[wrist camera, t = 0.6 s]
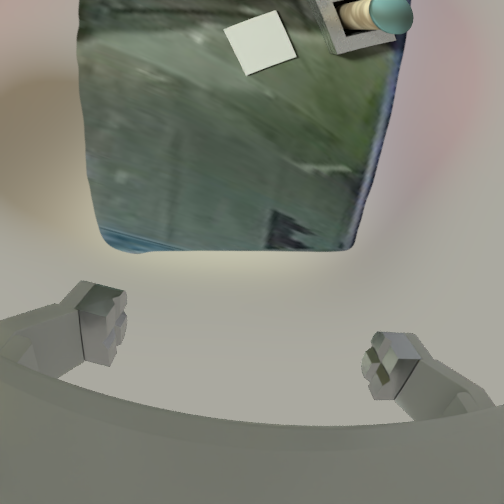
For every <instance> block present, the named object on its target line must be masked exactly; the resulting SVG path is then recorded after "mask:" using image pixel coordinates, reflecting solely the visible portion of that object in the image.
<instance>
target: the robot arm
mask: <svg viewBox="0 0 504 504" xmlns="http://www.w3.org/2000/svg"><path fill="white" fill-rule="evenodd" d="M126 304H127V294H126V292H125V291H123V290H119V289H115V288H111V287H107V286H103V285H100V284H96V283H92V282H87V281H80V282H79V283H78V284H77V285H76V286H75V287H74V288H73V289H72V290H71V292H70V293H69V294H68V295H67V296H66V297H65V298H64V299H63V300H62V301H61V302H60V304H55V303H54V304H51V305H48V306H45V307H41V308H38V309H35V310H32V311H28V312H26V313H22V314H19V315H16V316H13V317H10V318H6V319H3V320H0V504H504V405H500V406H497V407H496V406H495V404H494V403H493V402H492V400H491V399H490V397H489V396H488V395H487V393H486V392H485V390H484V389H483V388H481V387H480V386H478V385H476V384H475V383H473V382H472V381H470V380H469V379H467V378H465V377H464V376H462V375H461V374H459V373H457V372H456V371H454V370H453V369H451V368H449V367H448V366H446V365H445V364H443V363H441V362H440V361H438V360H434V359H433V358H432V356H431V355H430V354H429V352H428V351H427V349H426V348H425V347H424V345H423V344H422V343H421V341H420V340H419V338H418V337H417V336H416V335H415V334H413V333H393V332H376V333H375V335H374V336H373V338H372V340H371V344H372V347H371V348H370V349H369V350H367V351H366V352H365V355H364V357H363V359H362V365H361V367H362V373H363V376H364V378H366V379H367V380H368V381H369V382H370V383H369V385H368V387H369V390H370V392H371V394H372V396H373V399H374V400H394V401H395V402H396V403H397V404H398V405H399V406H400V407H401V408H402V409H403V410H404V411H405V412H406V413H407V414H408V415H409V416H410V417H411V418H412V419H413V420H414V421H412V422H403V423H392V424H377V425H357V426H298V425H279V424H265V423H253V422H243V421H233V420H226V419H218V418H211V417H204V416H198V415H191V414H186V413H181V412H176V411H170V410H165V409H160V408H156V407H152V406H147V405H143V404H139V403H134V402H130V401H127V400H123V399H119V398H116V397H112V396H108V395H105V394H101V393H98V392H95V391H92V390H88V389H85V388H82V387H79V386H76V385H73V384H70V383H67V382H64V381H62V380H59V379H57V378H59V377H60V376H62V375H63V374H65V373H67V372H68V371H70V370H72V369H73V368H75V367H76V366H78V365H80V364H81V363H83V362H84V360H85V361H89V362H93V363H97V364H100V365H105V366H108V367H110V365H111V363H112V361H113V359H114V357H115V355H116V353H117V351H116V346H118V345H120V344H121V343H122V341H123V339H124V336H125V332H126V326H127V315H126V314H125V312H124V311H123V310H124V308H125V306H126Z"/></svg>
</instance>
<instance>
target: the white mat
mask: <svg viewBox="0 0 504 504" xmlns="http://www.w3.org/2000/svg"><path fill="white" fill-rule="evenodd" d="M224 32H225V34H226V36H227V38H228V40H229V42H230V44H231V46H232V48H233V50H234V52H235V54H236V56H237V58H238V60H239V62H240V64H241V66H242V68H243V70H244V72H245V75H246V76H247V75H249V74H251V73H254V72H257V71H259V70H262V69H264V68H267V67H270V66H272V65H275V64H278V63H281V62H283V61H286V60H289V59H292V58H295V57H297V56H296V54H295V52H294V49H293V47H292V45H291V42H290V40H289V38H288V36H287V33H286V31H285V29H284V27H283V24H282V22H281V20H280V18H279V16H278V14H277V12H276V11H273V12H269V13H266V14H263V15H261V16H258V17H255V18H252V19H249V20H247V21H244V22H241V23H239V24H236V25H234V26H231V27H229V28H226V29H224Z"/></svg>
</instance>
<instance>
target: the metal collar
mask: <svg viewBox="0 0 504 504" xmlns="http://www.w3.org/2000/svg"><path fill="white" fill-rule="evenodd" d="M337 1H342V0H308V2H309V5H310V7H311V9H312V11H313V14H314V16H315V18H316V21H317V23H318V25H319V28H320V30H321V33H322V35H323V38H324V40H325V43H326V45H327V48H328V50H329V53H331V54H337V55H338V54H342V53H345V52H349V51H353V50H357V49H360V48H365V47H369V46H373V45H377V44H382V43H386V42H391V41H396V38H395V35H394V34H389V33H386V32H383V31H382V30H364V31H359V32H355V33H351V34H347V35H345V32H344V30H343V27H342V25H341V22H340V20H339V17H338V15H337V12H336V10H335V7H334V5H333V2H337ZM359 1H360V0H359Z"/></svg>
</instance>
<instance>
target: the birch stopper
mask: <svg viewBox="0 0 504 504" xmlns="http://www.w3.org/2000/svg"><path fill="white" fill-rule="evenodd" d="M335 10H336V12H337V15H338V17H339V20H340V22H341V25H342V27H343V28H344V29H348V30H382V31H383V32H386V33H389V34H403V33H405V32H407V31H408V30H409V29H410V28H411V26H412V23H413V13H412V9H411V7H410V5H409V4H408V2H407V1H406V0H360V1H355V2H350V3H346V4H341V5H339V6H338V7H337V8H336V9H335Z"/></svg>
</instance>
